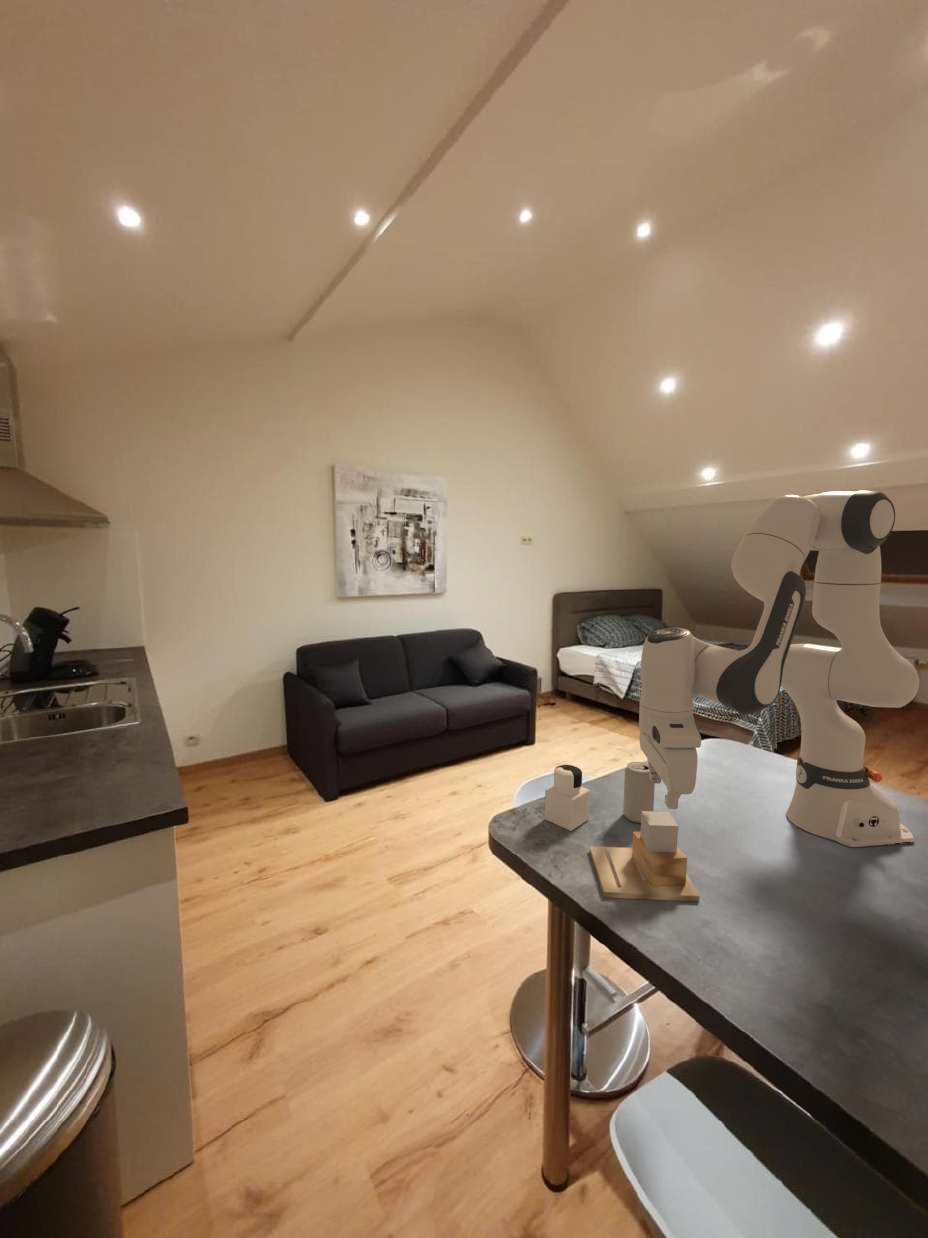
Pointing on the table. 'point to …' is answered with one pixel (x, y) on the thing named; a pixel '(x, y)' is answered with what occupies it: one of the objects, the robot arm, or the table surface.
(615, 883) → the plate
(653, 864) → the oak block
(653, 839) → the top cube
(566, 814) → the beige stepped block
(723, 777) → the table surface
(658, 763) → the robot arm
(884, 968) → the table surface
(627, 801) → the beverage can
